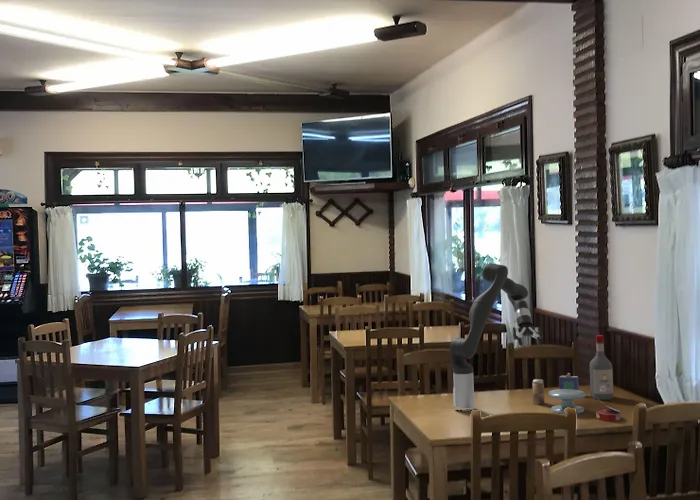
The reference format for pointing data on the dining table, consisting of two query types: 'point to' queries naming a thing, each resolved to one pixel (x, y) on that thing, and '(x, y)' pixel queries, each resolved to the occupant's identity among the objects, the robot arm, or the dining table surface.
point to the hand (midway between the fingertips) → (530, 345)
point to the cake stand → (567, 399)
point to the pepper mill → (538, 392)
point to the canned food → (608, 414)
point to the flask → (568, 382)
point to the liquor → (601, 373)
